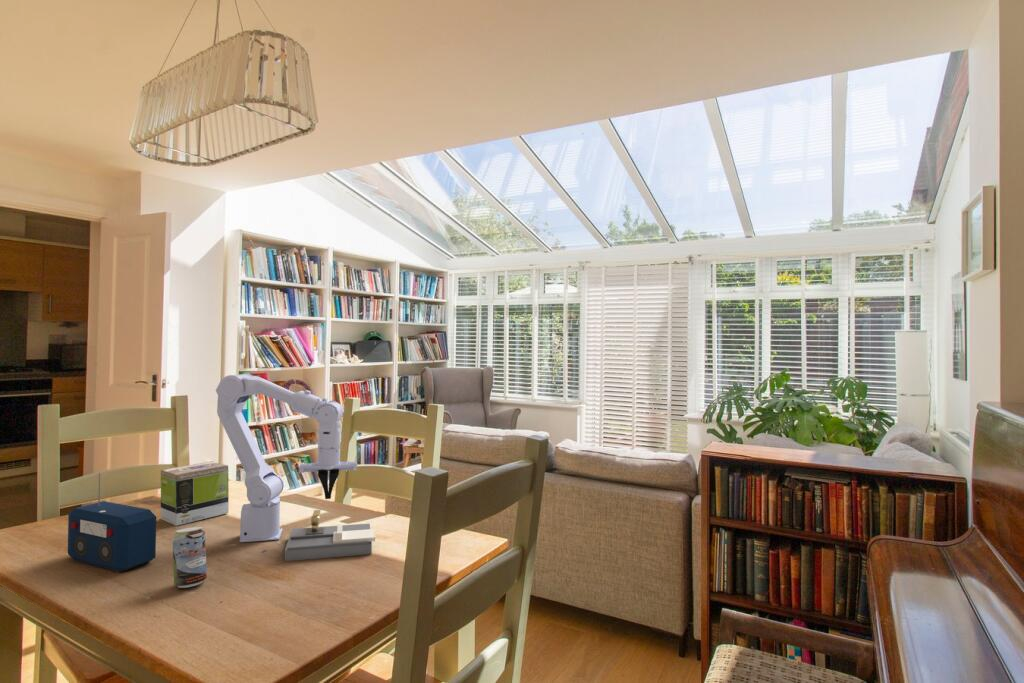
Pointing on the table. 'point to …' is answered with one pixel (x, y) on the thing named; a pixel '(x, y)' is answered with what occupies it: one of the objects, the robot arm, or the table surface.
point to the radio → (111, 535)
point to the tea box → (194, 492)
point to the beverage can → (189, 557)
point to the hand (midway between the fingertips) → (328, 498)
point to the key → (315, 520)
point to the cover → (353, 535)
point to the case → (324, 543)
